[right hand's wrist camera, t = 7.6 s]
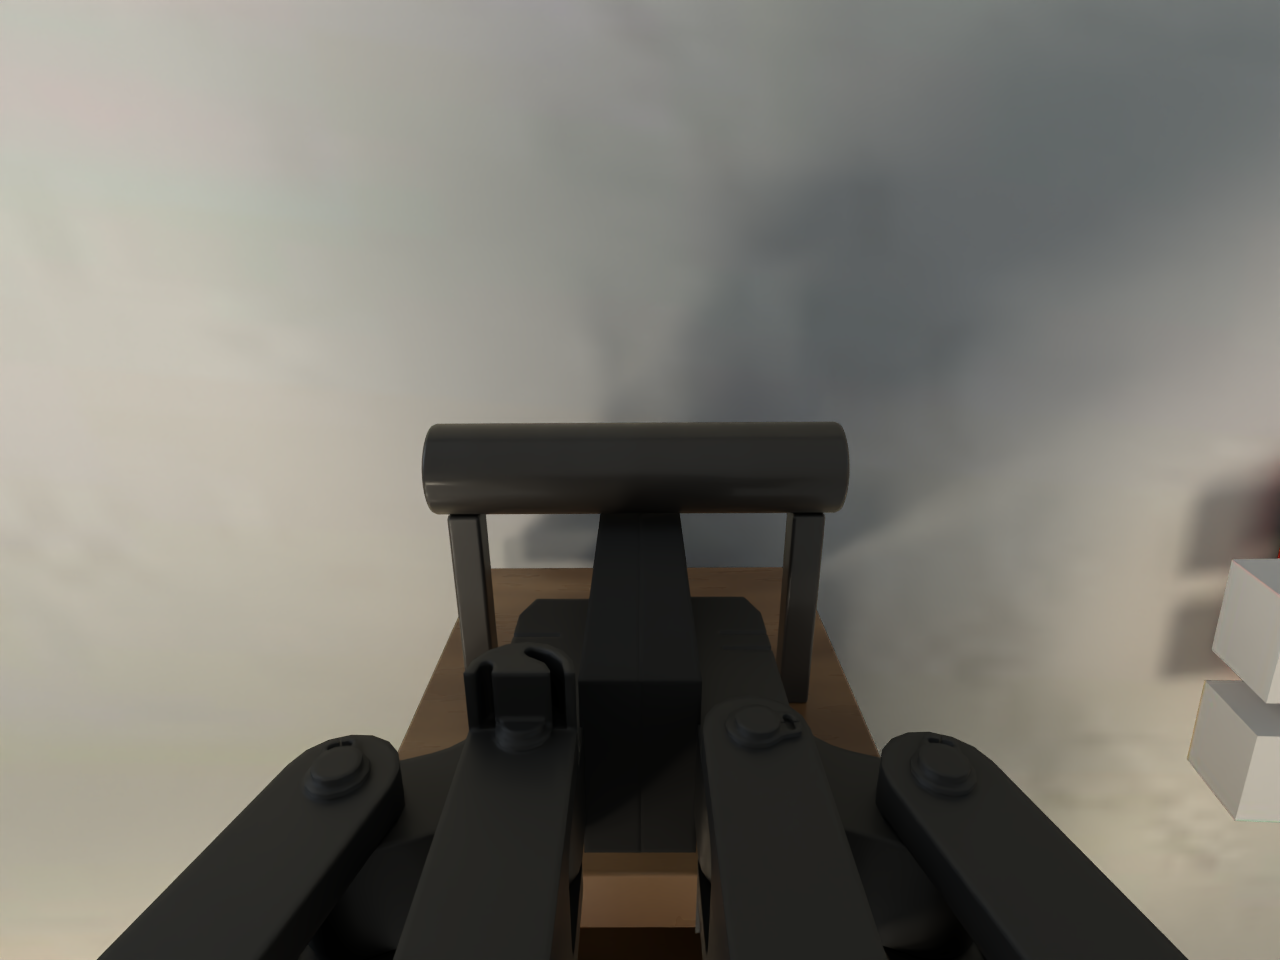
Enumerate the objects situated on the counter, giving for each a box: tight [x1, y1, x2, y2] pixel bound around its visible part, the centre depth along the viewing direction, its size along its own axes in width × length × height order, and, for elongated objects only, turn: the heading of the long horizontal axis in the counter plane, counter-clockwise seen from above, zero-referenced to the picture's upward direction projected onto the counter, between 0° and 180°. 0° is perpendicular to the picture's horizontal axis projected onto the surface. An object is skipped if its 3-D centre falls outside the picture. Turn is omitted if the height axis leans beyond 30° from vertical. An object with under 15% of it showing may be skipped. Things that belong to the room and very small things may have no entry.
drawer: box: [398, 422, 881, 960], centre depth 18 cm, size 24×9×10 cm, turn 0°
